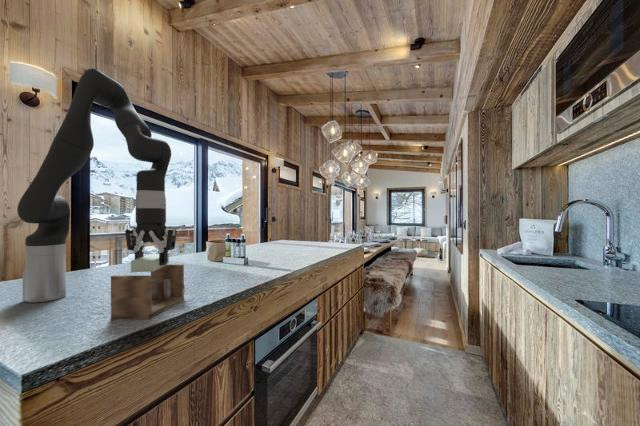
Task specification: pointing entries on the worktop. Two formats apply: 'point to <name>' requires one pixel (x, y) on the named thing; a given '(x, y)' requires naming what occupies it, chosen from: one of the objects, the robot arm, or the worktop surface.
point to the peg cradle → (146, 292)
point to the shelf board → (146, 263)
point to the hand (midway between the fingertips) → (151, 264)
